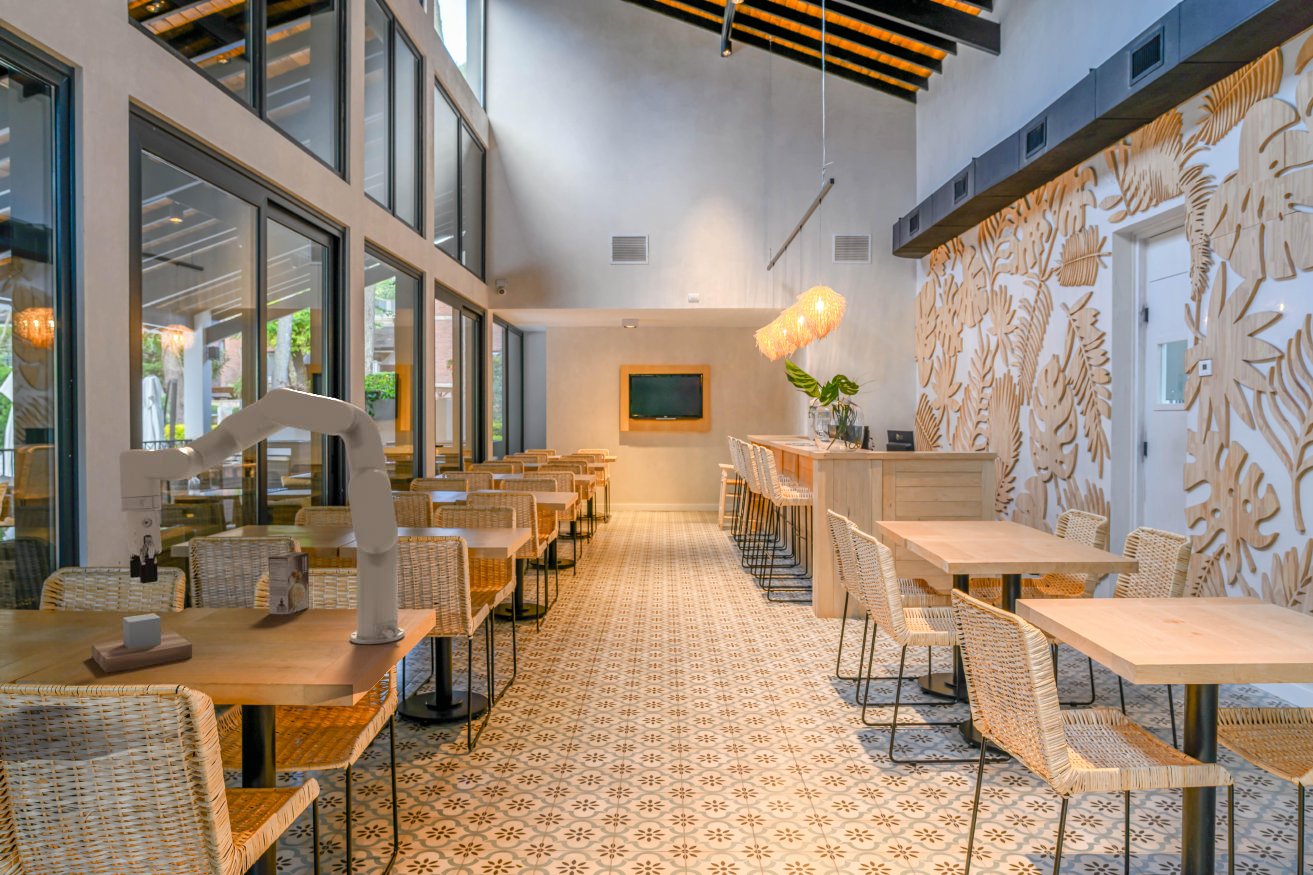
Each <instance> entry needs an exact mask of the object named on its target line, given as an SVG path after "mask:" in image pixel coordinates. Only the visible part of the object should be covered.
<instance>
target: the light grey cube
mask: <svg viewBox="0 0 1313 875" xmlns="http://www.w3.org/2000/svg"><path fill="white" fill-rule="evenodd" d="M161 622H162V618H161V616H159V615H157V613H155V612H154V613H152V612H151V613H145V614H139V615H132V616H127V617H123V618H122V625H123V626H122V634H123V635H122V639H123V644H124V645H125V646H126V647H127V648H128V649H135V648H141V647H147V646H153V645H159V644H161V633H162V629H161V628H162V623H161Z"/></svg>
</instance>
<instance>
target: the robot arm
mask: <svg viewBox="0 0 1313 875" xmlns="http://www.w3.org/2000/svg"><path fill="white" fill-rule="evenodd" d="M288 427H289V428H293V429H297V430H303V431H308V432H312V433H313V432H314V433H318V434H323V435H329V436H340V438H341V439H342V440H343V443H344V445H345V446H344V447H345V451H346V453H345V454H346V459H347V462H348V463H347V464H348V469H349V481H348V484H347V495H348V501H349V502H348V503H349V508H350V515H351V516H350V517H351V520H352V528H353V532H354V534H353V535H354V539H355V542H356V630H355V631H354V632H352V633H350V635H349V640H350V642H352V643H355V644H358V645H377V644H378V645H379V644H387V643H391V642H395V641H397V640H400V639H403V637H405V629H403V628H400V627H399V623H398V622H399V618H398V617H399V609H398V608H399V602H398V597H399V596H398V589H399V588H398V587H399V586H398V585H399V584H398V581H399V579H398V576H399V575H398V574H399V571H398V570H399V568H398V567H399V565H398V564H399V561H398V560H399V559H398V558H399V557H398V553H399V552H398V550H399V546H398V544H399V543H398V541H399V540H398V539H399V536H398V535H399V531H398V530H399V529H398V528H399V527H398V522H397V520H396V512H395V511H396V510H395V506H394V498H393V492H392V486H391V485H392V484H391V480H390V477H389V475H388V468H387V462H386V456H385V452H384V448H383V442H382V436H381V433H380V430H379V428H378V427H379V426H378V425H377V424H376V422H375V420H374V419H373V417H372V416H370V415H369V413H368V412H366V411H365V410H364V409H362V408H360V407H358V406H357V405H354V404H352V403H349V402H346V401H344V400H342V399H341V400H340V399H337V398H334V397H333V398H332V397H327V396H323V395H317V394H313V393H307V392H304V391H298V390H294V389H292V388H287V387H277V388H273V389H271V390H269V391H268V392H266V393H265V394H264V396H263V397H262V398H260V399H258V400H257V401H255V402H253V403H251V404H249V405H246V407H243V408H241V409H238V410H237V411H235V412H234V413H233V412H232V413H231V414H229V415H228V416H226V417H225V418H223V419H222V420H221V421H220V422H219V424H218V425H217V426H216V427H214V428H213V429H211V430H210V431H208V432H206V433H205V434H202V435H200V436H199V437H198V438H196V439H194V440H192V441H190V442H188V443H186V444H184V445H182V446H178V447H177V446H176V447H169V448H168V447H167V448H163V449H152V448H143V449H142V448H140V449H139V448H138V449H137V448H136V449H125V450H123V451H121V452H120V454H119V455H118V456H119V460H118V461H119V463H118V464H119V484H120V485H119V486H120V487H119V488H120V510H121V511H120V512H121V513H126V537H127V538H126V540H127V541H126V542H127V549H128V551H129V553H130V555H129V558H130V559H129V568H130V569H129V571H130V572H129V573H130V578H132V579H134V578H139V581H140V583H141V584H148V583H149V584H150V583H155V582H158V581H159V576H158V575H159V574H158V559H157V554H160V553H161V552H162V551H163V550H162V537H161V535H162V534H161V527H160V525H161V524H160V518H159V512H158V510H159V511H160V510H162V496H161V495H162V494H161V492H162V491H161V481H171V482H172V481H173V482H177V481H183V480H186V479H190V478H193V477H195V476H197V475H200V474H201V473H203V472H205V471H207V470H208V469H211V468H212V467H215V466H216V465H218V464H220V463H222V462H224V461H226V460H227V459H229V458H230V457H233V456H235V455H237V454H238V453H241V452H244V451H245V450H247V449H249V448H251V447H252V446H254V445H256V444H258V443H259V442H262V441H263V440H265V439H267V438H269V437H271V436H272V435H275V434H276V433H278V432H280V431H282V430H284V429H287V428H288Z"/></svg>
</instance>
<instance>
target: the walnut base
mask: <svg viewBox="0 0 1313 875" xmlns="http://www.w3.org/2000/svg"><path fill="white" fill-rule="evenodd" d="M91 658H92V659H93V660H94V661H95V662H96V664H97V665H98V664H99V665H98V666H99V667H100V668H101V669H102V670H103V671H104V673H106V672H111V673H114V672H113V671H116V672H120V671H119V670H121V671H126V670H131V669H137V668H143V667H147V666H148V667H149V666H152V665H158V664H159V665H160V664H164V663H170V662H175V661H180V660H185V659H190V658H191V659H192V658H193V644H192V643H191V642H189V641H188V640H187V639H185V638H184V637H182V636H181V635H180V634H178V633H177V632H176V631H174V630H171V631H165V632H161V644H159V645H153V646H147V647H141V648H135V649H128V648H127V647H126V646H125V645H124V644H123V638H122V639H116V640H110V641H104V642H97V643H92V644H91Z"/></svg>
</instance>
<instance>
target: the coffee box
mask: <svg viewBox="0 0 1313 875" xmlns="http://www.w3.org/2000/svg"><path fill="white" fill-rule="evenodd" d="M309 569H310V568H309V552H308V551H307V552H304V551H301V552H300V551H289V552H285V553H281V554H275V555H272V556H268V599H269V602H268V605H269V606H268V608H269V609H268V610H269V612H268V613H269V614H270V615H283V614H289V615H292V614H294V612H295V613H297V612H299V611H302V610H306V609H308V608H310V584H309V583H310V581H309V580H310V575H309V574H310V572H309V571H310V570H309ZM296 611H297V612H296ZM291 613H292V614H291Z"/></svg>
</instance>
